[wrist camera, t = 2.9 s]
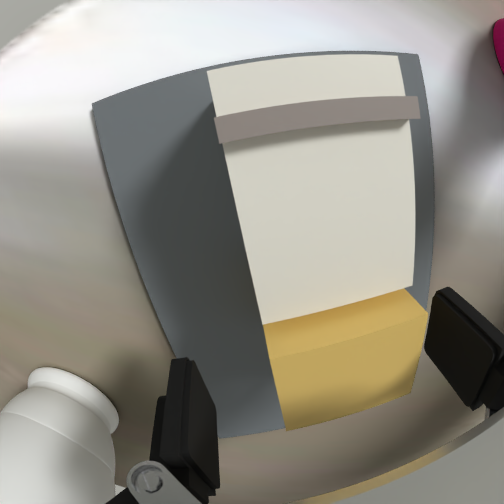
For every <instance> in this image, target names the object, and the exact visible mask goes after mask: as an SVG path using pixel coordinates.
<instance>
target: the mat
mask: <svg viewBox="0 0 504 504" xmlns="http://www.w3.org/2000/svg"><path fill="white" fill-rule="evenodd" d="M341 54H369V55H393V56H398V60H399V64H400V69H401V74H402V79H403V84H404V90H405V96H417V97H418V103H419V110H420V118H421V119H409V123H410V131H411V141H412V151H413V164H414V181H415V254H414V272H413V285H412V286H409V287H406V288H405V289H406V291H407V292H408V293H409V294H410V295H411V296H412V297H413V298H414V299H415V300H416V301H417V302H418V303H419V304H420V305H421V306H422V307H423V308H424V310H425V311H426V308H427V301H428V293H429V285H430V276H431V266H432V254H433V238H434V166H433V150H432V138H431V128H430V119H429V111H428V104H427V98H426V91H425V86H424V80H423V75H422V70H421V65H420V60H419V56H418V54H408V53H396V52H379V51H325V52H307V53H294V54H284V55H275V56H267V57H260V58H253V59H246V60H240V61H235V62H229V63H224V64H219V65H214V66H209V67H205V68H201V69H196V70H192V71H188V72H184V73H180V74H177V75H173V76H170V77H166V78H163V79H159V80H156V81H153V82H149V83H146V84H143V85H140V86H137V87H134V88H131V89H129V90H126V91H123V92H120V93H117V94H115V95H112V96H110V97H107V98H105V99H102V100H100V101H97V102H95V103H92V107H93V112H94V117H95V122H96V126H97V131H98V135H99V140H100V144H101V148H102V152H103V156H104V160H105V164H106V168H107V171H108V175H109V179H110V182H111V186H112V189H113V193H114V196H115V200H116V203H117V206H118V210H119V213H120V216H121V219H122V222H123V225H124V228H125V231H126V234H127V237H128V240H129V243H130V246H131V249H132V252H133V254H134V257H135V260H136V263H137V265H138V268H139V271H140V273H141V276H142V279H143V281H144V284H145V286H146V289H147V291H148V294H149V296H150V299H151V301H152V304H153V306H154V309H155V311H156V313H157V316H158V318H159V320H160V323H161V325H162V327H163V329H164V332H165V334H166V336H167V338H168V341H169V343H170V345H171V347H172V349H173V351H174V354H175V356H176V358H177V359H178V358H184V357H188V358H189V360H190V361H191V360H194V361H195V363H196V365H197V367H198V370H199V372H200V374H201V376H202V378H203V381H204V383H205V385H206V387H207V389H208V391H209V393H210V396H211V398H212V400H213V402H214V404H215V407H216V411H217V435H218V437H219V438H228V437H235V436H243V435H249V434H255V433H261V432H267V431H272V430H278V429H283V428H285V424H284V419H283V415H282V411H281V406H280V402H279V398H278V394H277V389H276V385H275V381H274V376H273V372H272V368H271V364H270V359H269V354H268V349H267V344H266V338H265V333H264V328H263V325H262V320H261V316H260V311H259V307H258V303H257V298H256V294H255V289H254V285H253V280H252V276H251V271H250V267H249V262H248V258H247V254H246V249H245V245H244V240H243V236H242V231H241V227H240V222H239V218H238V213H237V208H236V204H235V199H234V195H233V190H232V186H231V181H230V177H229V172H228V167H227V163H226V158H225V154H224V149H223V145H222V143H221V144H219V139H218V135H217V130H216V126H215V121H214V117H216V112H215V108H214V103H213V98H212V94H211V89H210V84H209V80H208V75H207V71H209V70H213V69H218V68H223V67H228V66H234V65H239V64H245V63H251V62H258V61H265V60H273V59H281V58H291V57H302V56H316V55H341Z"/></svg>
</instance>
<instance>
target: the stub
mask: <svg viewBox="0 0 504 504" xmlns="http://www.w3.org/2000/svg"><path fill="white" fill-rule="evenodd" d="M427 318H428V313H427V312H426V311H425V310H424V308H423V307H422V306H421V305H420V304H419V303H418V302H417V301H416V300H415V299H414V298H413V297H412V296H411V295H410V294H409V293H408V292H407V291H406V289H405V288H403V289H400V290H396V291H393V292H390V293H386V294H383V295H379V296H376V297H372V298H369V299H365V300H362V301H358V302H354V303H351V304H347V305H343V306H339V307H336V308H332V309H328V310H324V311H320V312H316V313H312V314H308V315H303V316H299V317H295V318H291V319H286V320H282V321H277V322H273V323H268V324H263V328H264V333H265V338H266V344H267V349H268V354H269V359H270V364H271V368H272V372H273V376H274V381H275V385H276V389H277V394H278V398H279V402H280V406H281V411H282V415H283V419H284V424H285V428H286V431H289V430H294V429H298V428H303V427H307V426H311V425H315V424H319V423H323V422H326V421H330V420H334V419H337V418H341V417H344V416H347V415H351V414H354V413H357V412H360V411H363V410H366V409H369V408H372V407H375V406H378V405H381V404H383V403H386V402H389V401H391V400H394V399H397V398H399V397H402V396H404V395H407V394H409V393H411V389H412V386H413V382H414V378H415V374H416V370H417V366H418V362H419V358H420V354H421V349H422V344H423V339H424V334H425V329H426V324H427Z"/></svg>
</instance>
